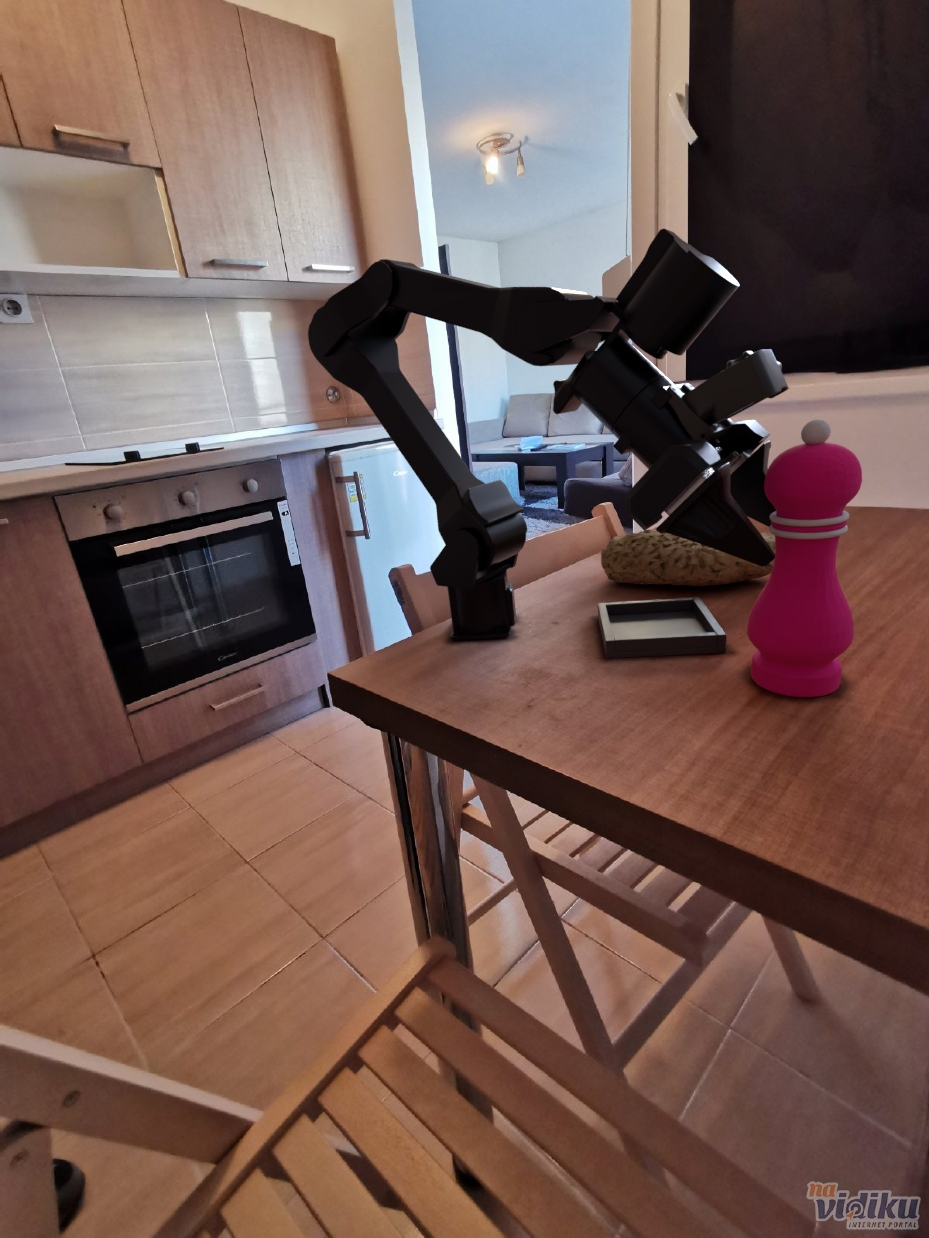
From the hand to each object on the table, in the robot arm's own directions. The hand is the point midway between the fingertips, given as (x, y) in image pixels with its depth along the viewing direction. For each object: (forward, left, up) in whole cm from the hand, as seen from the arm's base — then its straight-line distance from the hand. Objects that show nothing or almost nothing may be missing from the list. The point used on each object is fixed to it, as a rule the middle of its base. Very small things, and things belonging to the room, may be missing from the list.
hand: (783, 545), depth 44 cm
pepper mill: (+1, -1, -11) cm, 11 cm away
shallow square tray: (-8, +10, -11) cm, 17 cm away
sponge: (-1, +26, -11) cm, 29 cm away
